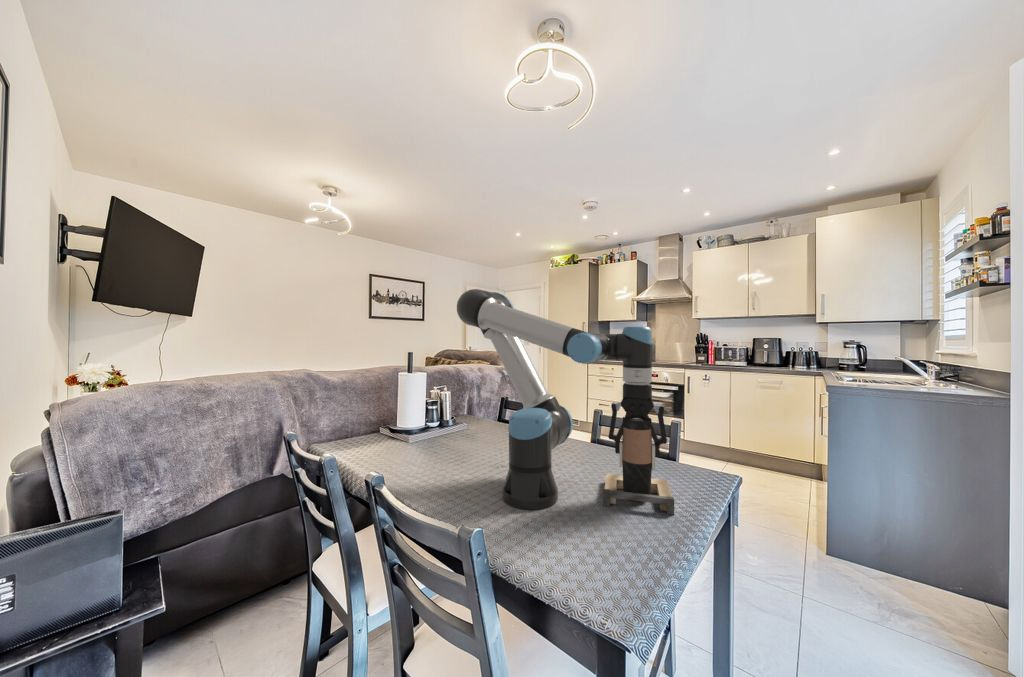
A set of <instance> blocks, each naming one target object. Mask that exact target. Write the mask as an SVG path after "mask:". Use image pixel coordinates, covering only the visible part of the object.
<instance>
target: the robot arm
mask: <svg viewBox="0 0 1024 677" xmlns="http://www.w3.org/2000/svg"><path fill="white" fill-rule="evenodd" d="M456 302H457V303H456V312H457V313H456V314H457V315H458V318H459V319H460V320H461V322H463V323H464V324H466V325H468V326H472V327H476V328H478V329H479V330H480V332H481V333H482V335H483V337H484V338H485V339H487V340H490V341H491V343H492V345H493V347H494V349H495V351H496V353H497V355H498V357H499V359H500V361H501V364H502V365H503V367H504V369H505V371H506V374H508V375H507V376H508V378H509V379H510V381H511V383H512V386H513V387H514V389H515V391H516V394H517V395H518V397H519V399H520V401H521V403H522V406H523V408H521V409H517V410H515V411H514V412H513V413H512V414H511V415H510V417H509V419H508V420H509V421H508V470H507V474H506V478H505V480H504V483H503V487H502V500H503V501H504V503H506V504H507V505H508V506H511V507H514V508H516V509H520V510H521V509H522V510H541V509H546V508H549V507H552V506H554V505H556V503H557V502H558V499H559V491H558V486H557V483H556V480H555V476H554V474H553V470H552V450H554V449H555V448H556V447H558V446H560V445H561V444H563V443H565V441H567V439H568V438H569V437H570V435H572V434H571V433H572V431H573V428H574V424H573V423H574V422H573V417H572V415H571V413H570V411H569V410H568V409H567V408H566V407H564V406H562V405H560V403H559V401H558V400H557V398H556V396H555V395H553V394H551V393H548V391H547V389H546V387H545V385H544V383H543V381H542V379H541V377H540V375H539V373H538V371H537V369H536V367H535V366H534V363H533V362H532V359H531V358H530V356H529V354H528V352H527V350H526V348H525V347H524V345H523V342H522V341H524V342H528V343H530V344H533V345H536V346H539V347H542V348H543V349H547V350H549V351H553V352H556V353H558V354H562V355H564V356H566V357H569V358H570V359H572V360H573V362H575V363H578V364H584V365H588V364H592V363H594V362H600V361H617V362H620V361H622V381H623V384H622V399H621V401H620V402H612V403H611V405H610V406H611V407H610V408H611V413H612V415H611V419H610V427H609V432H608V439H609V440H612V441H614V442H615V443H614V448H615V449H614V450H615V451H614V452H615V454H617V455H618V454H619V468H623V465H622V449H623V440H621V439H622V438H623V421H622V422H621V424H620V426H619V429H618V430H617V433H616V434H615V427H616V421H617V415H618V411H620V408H622V409H623V411H624V412H625V415H624V416H623V417H624V418H625V419H628V420H630V417H631V418H635V417H638V418H644V419H645V421H648V420H650V418H651V417H649V413H650V412H651V411H652V410H653V409H654V412H655V413H656V414H657V421H658V425H659V426H658V427H659V433H660V438H658V435H657V433H656V431H655V428H654V426H653V423H652V424H651V436H652V441H653V442H652V471H655V470H656V458H659V457H660V449H661V448H660V447H661V446H662V445H663V444H664V445H665V444H667V443H668V438H667V432H666V426H665V418H664V413H665V412H664V411H665V407H664V405H663V404H655V403H654V402H653V385H652V384H651V383H652V382H653V371H652V370H653V369H652V368H653V363H652V362H653V338H652V329H651V328H650V327H649V326H637V325H635V326H624V327H623V328H622V333H592V332H587V331H584V330H581V329H578V328H576V327H575V328H574V327H572V326H568V325H566V324H562V323H559V322H556V321H554V320H551V319H547V318H545V317H542V316H537V315H534V314H532V313H528V312H525V311H522V310H519V309H517V308H515V307H514V305H513V303H512V301H511V300H510V299H509V298H508V297H507V296H505V295H504V294H502V293H499V292H496V291H495V292H494V291H487V290H482V289H479V288H474V289H469V290H466V291H465V292H463V293H462V294H461V295H460V297H459V298H458V300H457V301H456ZM521 340H522V341H521Z"/></svg>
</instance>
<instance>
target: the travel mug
mask: <svg viewBox="0 0 1024 677" xmlns="http://www.w3.org/2000/svg"><path fill="white" fill-rule="evenodd" d="M624 417H625V416H622V422H623V435H622V441H623V449H622V475H623V489H622V490H623V492H631V493H639V494H648V495H651V493H652V492H651V478H652V473H653V472H652V471H653V470H652V443H653V438H652V436H651V424H652V425H653V423H652V418H651V417H649V418H650V420H648V421H645V419H644V418H638V417H635V418H631V417H630V420H628V419H625V418H624Z"/></svg>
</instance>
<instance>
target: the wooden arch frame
mask: <svg viewBox="0 0 1024 677" xmlns="http://www.w3.org/2000/svg"><path fill="white" fill-rule="evenodd" d="M617 489H620V490H623V474H621V475H620V474H615V473H614V474H612V473H606V477H605V483H604V488H603V494H602V495H603V498H602V499H603V500H602V501H603V507H609V508H610V507H611V505H616V504H617V503H616V502H617V500H627V501H636V502H642V503H651V504H659V509H660V511H665V512H666V515H672V516H675V497H674V496H672V492H671V489H670V486H669V481H668V479H661V478H652V477H651V493H655V494H657V495H655V494H650V495H648V494H639V493H631V492H624V491H619V490H617Z"/></svg>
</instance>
